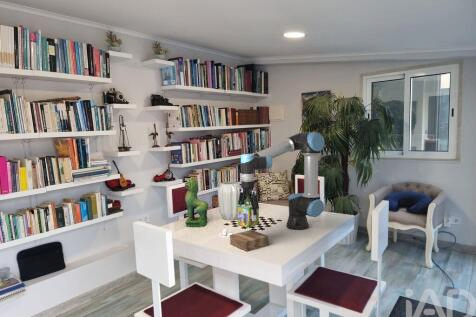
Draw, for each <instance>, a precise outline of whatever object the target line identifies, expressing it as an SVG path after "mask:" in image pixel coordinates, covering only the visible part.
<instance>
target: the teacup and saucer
mask: <svg viewBox="0 0 476 317" xmlns="http://www.w3.org/2000/svg"><path fill="white" fill-rule="evenodd" d="M232 234H233V233H232V232H228V228H227V229H226V228H223V229H221V231H220V233H219V234H218V237H220V238H223V237H226V238H230V235H232Z"/></svg>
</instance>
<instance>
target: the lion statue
mask: <svg viewBox="0 0 476 317" xmlns="http://www.w3.org/2000/svg"><path fill="white" fill-rule="evenodd" d="M184 187H185V189H186V190H187V191H186V193H185V195H184V196H185V197H184V201H185V204H186V208H187V212H188V218H187V219H186V220H185V227H186V228H201V227H205V226H206V224H207V223H208V216H207V215H208V208H209V203H208V202H207V201H205V200H200V199H199V198H198V192H199V183H198V181H197V179H195V178H194V177H193V176H191V177H190V178H188V179H187V181H186V182H184ZM195 212H196V214H198V215H199V216H197V217H196V216H195Z"/></svg>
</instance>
